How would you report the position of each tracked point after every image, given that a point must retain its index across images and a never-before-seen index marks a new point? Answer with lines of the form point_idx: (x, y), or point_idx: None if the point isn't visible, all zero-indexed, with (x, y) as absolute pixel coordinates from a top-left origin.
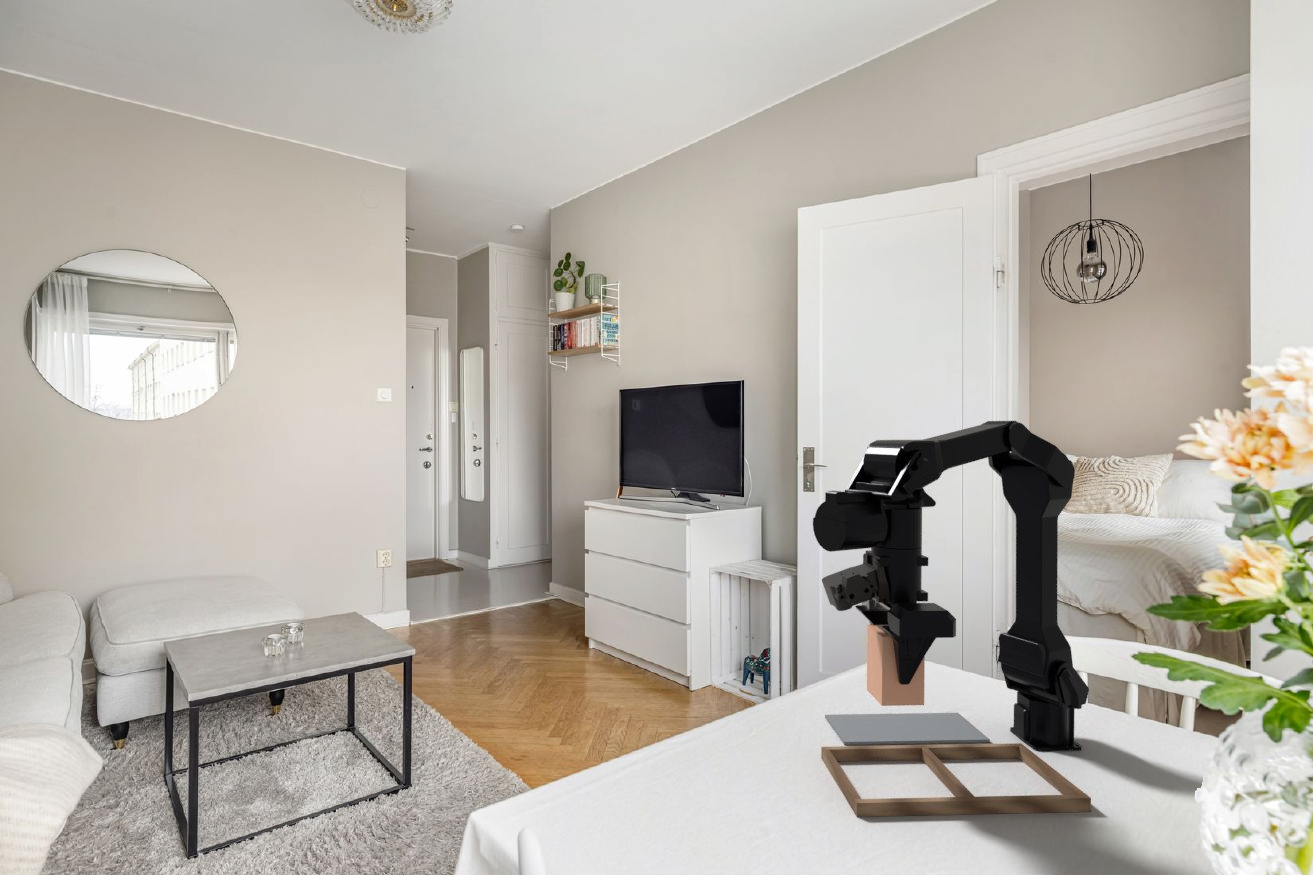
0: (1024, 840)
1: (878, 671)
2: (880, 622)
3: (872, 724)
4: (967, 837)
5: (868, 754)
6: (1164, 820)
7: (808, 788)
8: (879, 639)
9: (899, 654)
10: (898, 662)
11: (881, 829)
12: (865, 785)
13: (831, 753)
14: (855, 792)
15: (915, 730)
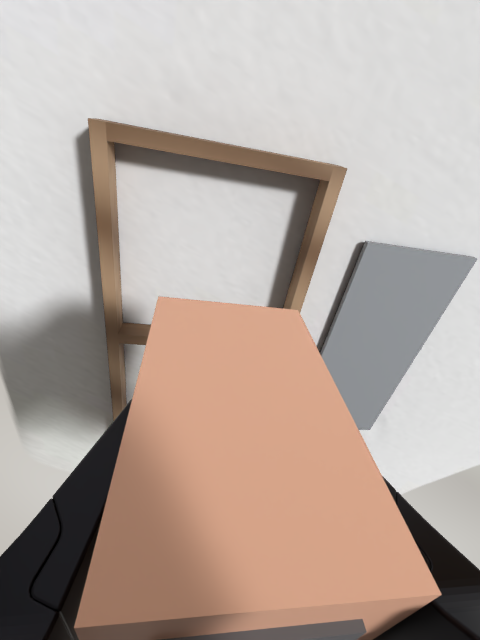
0: (51, 349)
1: (189, 371)
2: (417, 635)
3: (399, 319)
4: (50, 286)
5: (301, 259)
6: None
7: (232, 62)
8: (160, 561)
9: (26, 532)
10: (71, 476)
11: (60, 152)
12: (221, 206)
13: (311, 176)
14: (137, 142)
15: (350, 365)
